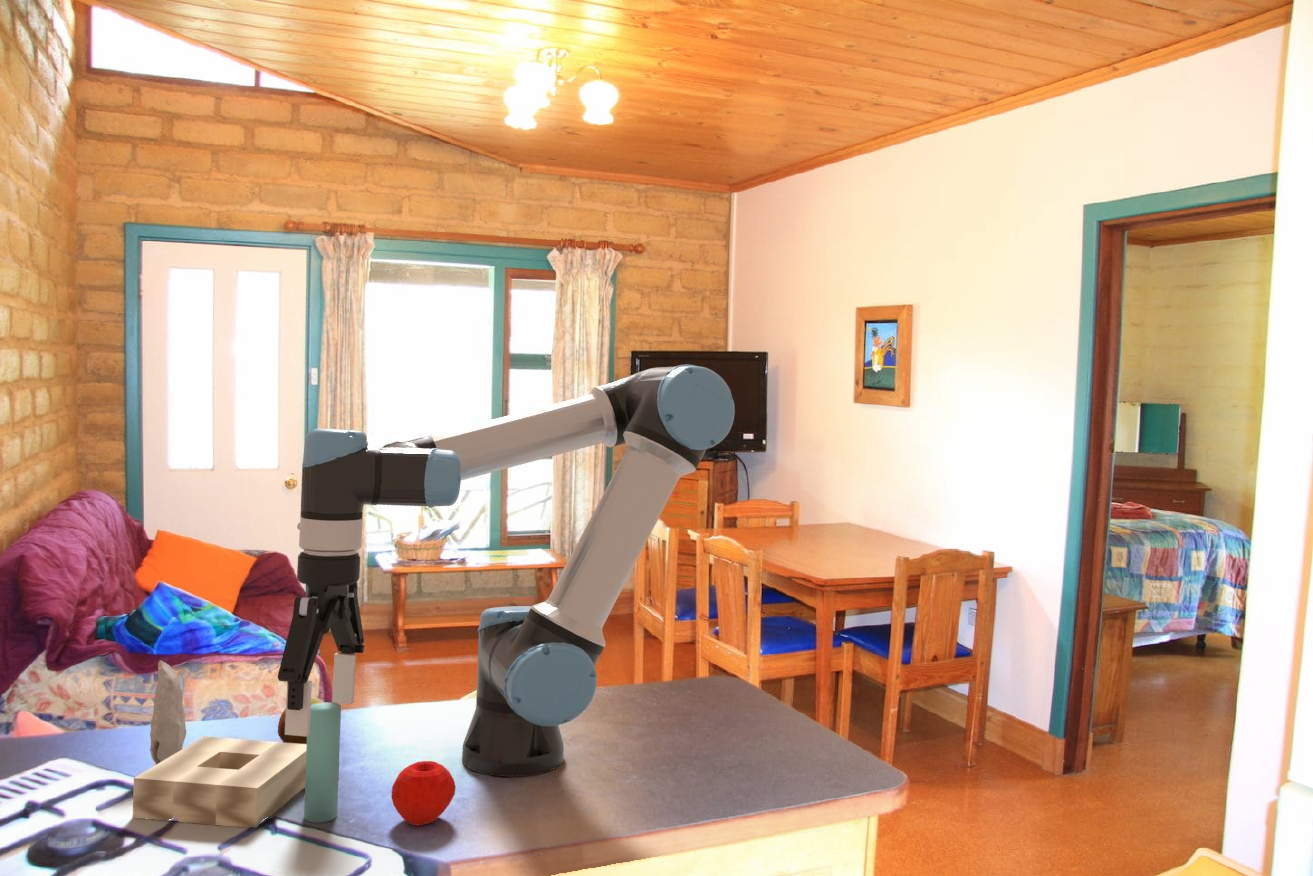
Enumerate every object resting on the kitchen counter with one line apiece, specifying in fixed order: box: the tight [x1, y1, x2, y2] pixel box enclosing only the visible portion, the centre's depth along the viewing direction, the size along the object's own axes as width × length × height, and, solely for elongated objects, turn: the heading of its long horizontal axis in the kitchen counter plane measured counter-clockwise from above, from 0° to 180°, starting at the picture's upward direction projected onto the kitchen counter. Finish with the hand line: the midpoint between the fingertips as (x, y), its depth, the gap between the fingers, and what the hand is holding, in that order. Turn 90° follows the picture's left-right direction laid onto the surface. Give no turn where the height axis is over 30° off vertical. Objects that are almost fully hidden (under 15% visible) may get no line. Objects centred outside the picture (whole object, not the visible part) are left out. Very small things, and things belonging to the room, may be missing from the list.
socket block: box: [132, 736, 307, 829], centre depth 130 cm, size 16×16×5 cm
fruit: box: [277, 696, 324, 744], centre depth 149 cm, size 8×8×8 cm
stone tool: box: [149, 660, 187, 765], centre depth 140 cm, size 9×3×15 cm, turn 8°
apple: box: [391, 760, 457, 826], centre depth 126 cm, size 8×8×7 cm
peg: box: [303, 701, 342, 824], centre depth 126 cm, size 4×4×14 cm
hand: (321, 718), depth 125 cm, fingers open, 13 cm apart
